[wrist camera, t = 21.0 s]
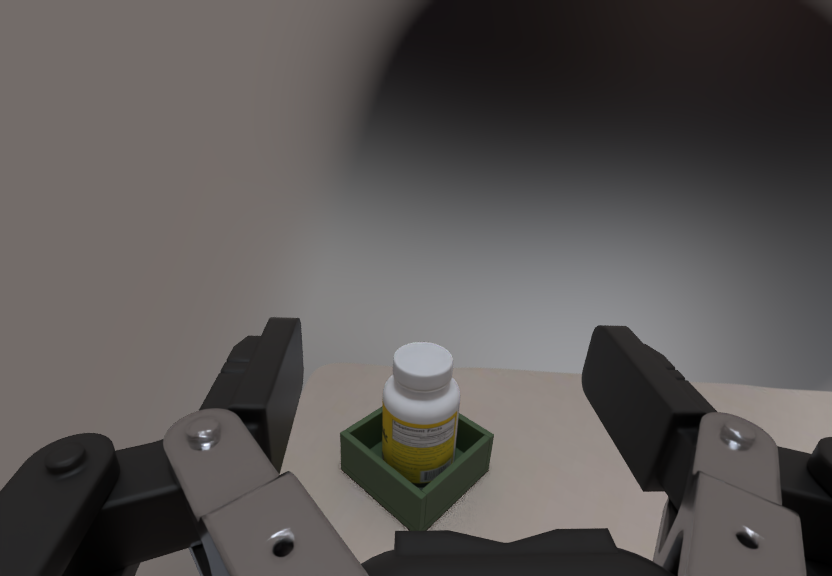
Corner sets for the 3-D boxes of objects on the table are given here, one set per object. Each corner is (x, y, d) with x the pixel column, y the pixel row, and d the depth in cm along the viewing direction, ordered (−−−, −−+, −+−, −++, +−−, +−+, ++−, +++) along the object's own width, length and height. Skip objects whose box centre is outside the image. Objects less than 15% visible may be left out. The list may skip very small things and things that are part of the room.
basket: (418, 538, 30) (421, 499, 28) (340, 469, 35) (339, 432, 33) (488, 470, 35) (494, 434, 34) (413, 418, 40) (415, 385, 38)
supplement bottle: (396, 432, 38) (400, 329, 33) (460, 449, 36) (472, 345, 32) (369, 482, 33) (370, 370, 29) (442, 505, 31) (454, 390, 27)
